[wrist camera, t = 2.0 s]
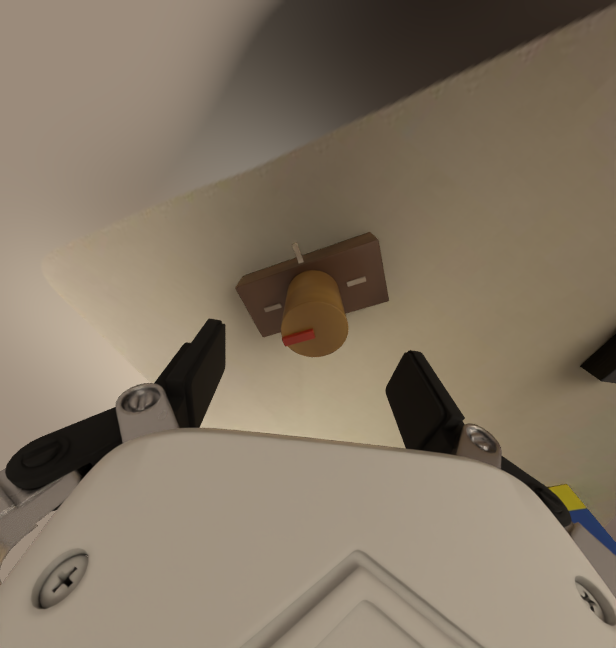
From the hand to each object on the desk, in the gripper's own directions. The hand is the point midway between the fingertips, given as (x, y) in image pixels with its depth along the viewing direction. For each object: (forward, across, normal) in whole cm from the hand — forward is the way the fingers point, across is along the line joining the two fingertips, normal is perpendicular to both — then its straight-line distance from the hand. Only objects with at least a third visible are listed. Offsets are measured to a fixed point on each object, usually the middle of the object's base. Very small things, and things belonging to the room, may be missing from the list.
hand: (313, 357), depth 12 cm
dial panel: (+10, 0, 0) cm, 10 cm away
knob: (+7, 0, 0) cm, 7 cm away
